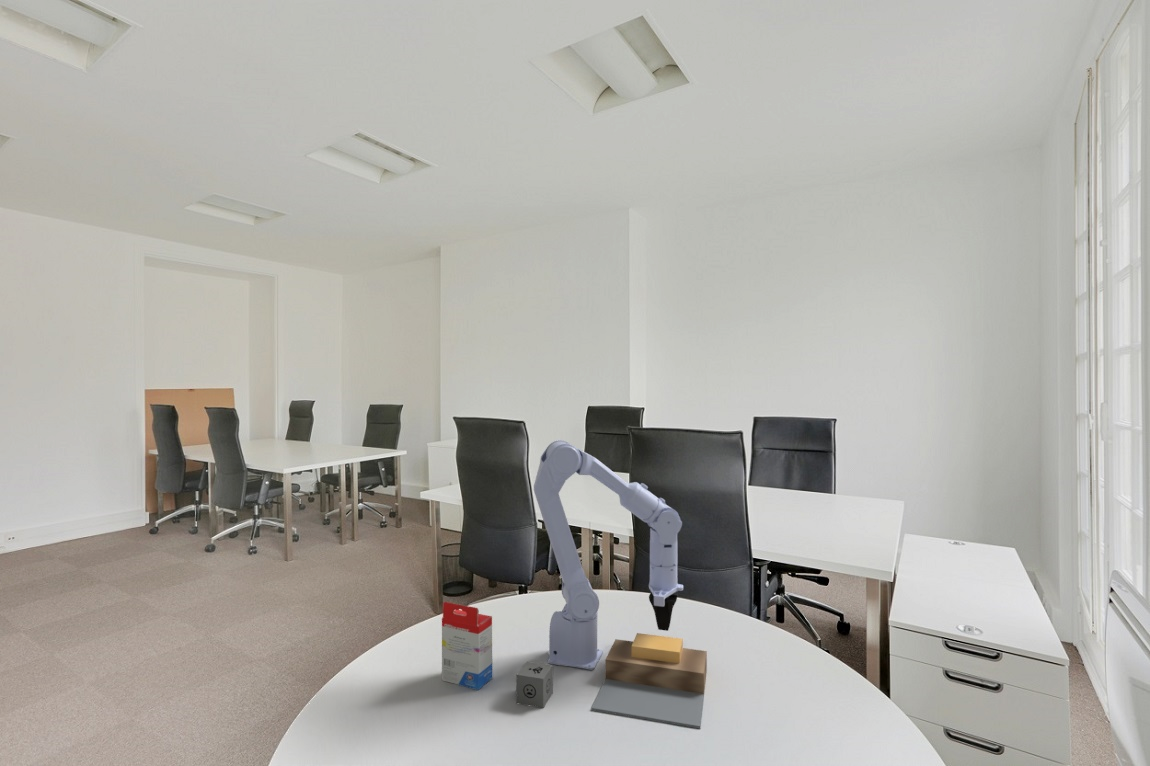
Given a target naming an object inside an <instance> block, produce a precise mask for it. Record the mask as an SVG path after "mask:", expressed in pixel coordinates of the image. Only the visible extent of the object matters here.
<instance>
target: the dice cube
mask: <svg viewBox="0 0 1150 766" xmlns="http://www.w3.org/2000/svg"><path fill="white" fill-rule="evenodd" d="M515 678H516V681H515V683H516V684H515V687H516V689H515V694H516V696H515V697H516V698H515V704H517V703H519V705H524V706H528V705H530V707H534V708H539V709H540V708H541V709H544V708H545V707H546V705H547V704H548V701H550V698H551V697H552V696H553V694H554V664H549V663H548V664H547V663H539V662H534V661H526V662H525V663H524V665H522V667H521V668H520V669H519V670H518V672H517V673H516V677H515Z"/></svg>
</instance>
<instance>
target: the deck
mask: <svg viewBox="0 0 1150 766" xmlns="http://www.w3.org/2000/svg"><path fill="white" fill-rule="evenodd" d="M633 641H634V640H633ZM633 641H632V640H626V639H625V640H624V639H617V638H616V639H614V642H613V644H612V645H611V647H610V649H609V651H608V654H607V655H606V657H605V659H604V660H605V661H604V663H605V664H604V666H605V669H604V671H605V672H604V673H605V675H604V676H605V677H604V680H605V679H609V680H615V681H622V682H629V683H635V684H642V685H648V686H655V687H661V688H668V689H675V690H681V691H688V692H694V693H701V694H704V695H705V692H706V691H705V690H706V682H707V671H708V670H707V669H708V668H707V662H708V658H707V657H708V656H707V652H708V651H707V650H701V649H694V648H685V647H683V650H682V655H681V660H680V663H673V662H666V661H659V660H652V659H644V658H637V657H632V644H633Z"/></svg>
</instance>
